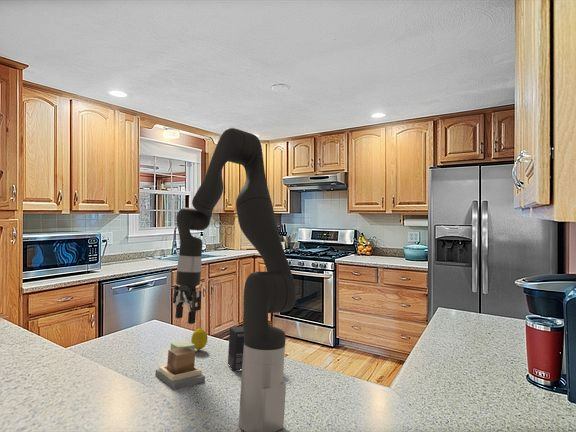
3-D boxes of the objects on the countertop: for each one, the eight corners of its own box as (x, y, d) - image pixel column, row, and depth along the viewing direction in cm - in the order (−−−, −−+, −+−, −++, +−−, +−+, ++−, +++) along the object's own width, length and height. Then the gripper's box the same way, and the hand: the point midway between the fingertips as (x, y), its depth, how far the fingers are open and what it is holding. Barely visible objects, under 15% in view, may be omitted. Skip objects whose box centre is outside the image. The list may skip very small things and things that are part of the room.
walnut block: (193, 373, 100) (195, 352, 100) (175, 377, 96) (177, 355, 96) (184, 367, 104) (186, 347, 104) (166, 371, 100) (168, 350, 100)
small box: (264, 360, 119) (267, 324, 120) (272, 368, 113) (275, 329, 113) (226, 364, 113) (229, 326, 114) (232, 372, 107) (235, 331, 108)
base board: (204, 381, 98) (205, 371, 99) (174, 389, 92) (175, 378, 92) (184, 368, 107) (185, 359, 107) (155, 374, 101) (156, 365, 101)
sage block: (193, 364, 112) (195, 344, 112) (177, 367, 108) (178, 347, 108) (185, 359, 116) (186, 340, 116) (169, 362, 112) (170, 343, 112)
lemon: (202, 354, 122) (204, 330, 122) (187, 352, 123) (189, 328, 123) (209, 349, 127) (210, 326, 127) (194, 347, 128) (196, 325, 129)
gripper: (210, 272, 111) (206, 324, 110) (189, 267, 122) (185, 315, 121) (189, 272, 106) (184, 327, 105) (168, 267, 117) (164, 317, 116)
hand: (184, 320), depth 113 cm, fingers open, 8 cm apart
